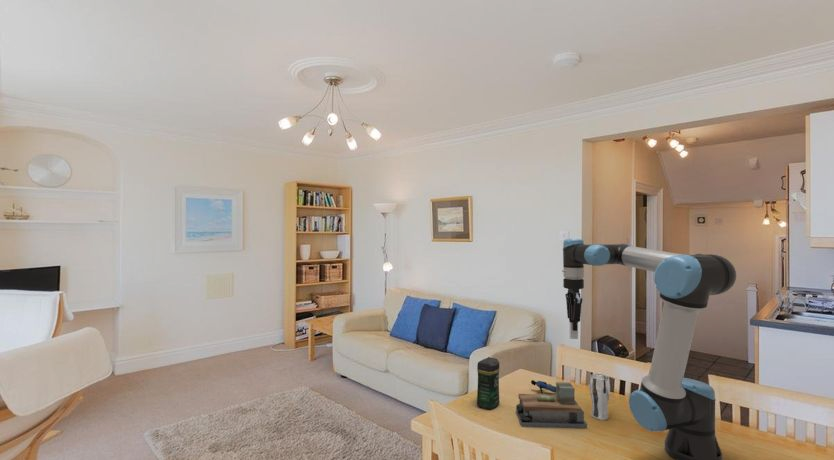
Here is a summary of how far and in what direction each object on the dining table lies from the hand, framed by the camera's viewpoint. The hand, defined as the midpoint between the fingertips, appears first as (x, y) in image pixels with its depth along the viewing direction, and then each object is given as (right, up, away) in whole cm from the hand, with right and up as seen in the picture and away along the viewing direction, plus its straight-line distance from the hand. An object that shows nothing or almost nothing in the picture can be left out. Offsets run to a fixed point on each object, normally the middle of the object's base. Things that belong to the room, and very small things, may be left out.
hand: (573, 338), depth 165 cm
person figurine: (-4, -29, +16) cm, 33 cm away
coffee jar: (-33, -29, +5) cm, 44 cm away
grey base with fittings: (-12, -28, -8) cm, 32 cm away
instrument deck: (-13, -23, -8) cm, 27 cm away
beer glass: (+8, -28, -6) cm, 30 cm away
